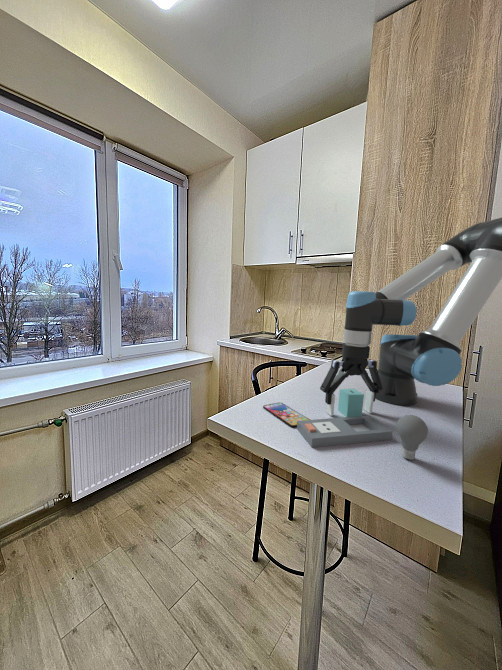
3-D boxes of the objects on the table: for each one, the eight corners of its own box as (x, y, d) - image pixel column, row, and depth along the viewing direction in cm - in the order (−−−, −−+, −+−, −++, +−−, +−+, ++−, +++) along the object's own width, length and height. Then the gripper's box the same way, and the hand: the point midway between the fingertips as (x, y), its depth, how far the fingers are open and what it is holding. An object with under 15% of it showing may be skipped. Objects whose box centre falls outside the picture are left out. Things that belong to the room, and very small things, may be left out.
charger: (351, 409, 86) (354, 388, 85) (361, 416, 81) (364, 394, 80) (337, 410, 85) (339, 388, 84) (346, 417, 80) (349, 394, 79)
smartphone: (280, 401, 89) (312, 420, 76) (280, 404, 89) (312, 423, 76) (261, 405, 85) (292, 426, 72) (261, 408, 85) (291, 429, 72)
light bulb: (411, 468, 57) (417, 424, 56) (387, 453, 63) (392, 412, 61) (429, 462, 60) (436, 420, 58) (404, 448, 65) (410, 408, 63)
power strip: (368, 422, 77) (369, 413, 77) (391, 439, 69) (392, 429, 68) (296, 428, 72) (297, 418, 72) (311, 447, 64) (312, 436, 63)
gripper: (383, 341, 86) (375, 405, 90) (312, 341, 81) (307, 409, 84) (401, 346, 79) (392, 415, 82) (324, 346, 73) (318, 421, 77)
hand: (349, 412), depth 83 cm, fingers open, 12 cm apart
